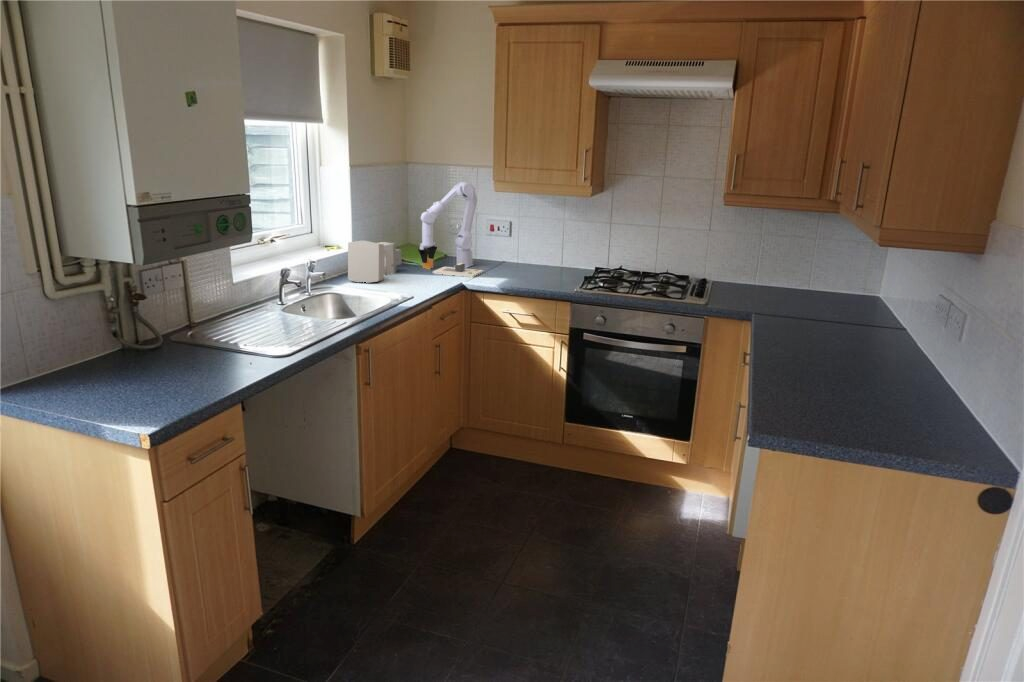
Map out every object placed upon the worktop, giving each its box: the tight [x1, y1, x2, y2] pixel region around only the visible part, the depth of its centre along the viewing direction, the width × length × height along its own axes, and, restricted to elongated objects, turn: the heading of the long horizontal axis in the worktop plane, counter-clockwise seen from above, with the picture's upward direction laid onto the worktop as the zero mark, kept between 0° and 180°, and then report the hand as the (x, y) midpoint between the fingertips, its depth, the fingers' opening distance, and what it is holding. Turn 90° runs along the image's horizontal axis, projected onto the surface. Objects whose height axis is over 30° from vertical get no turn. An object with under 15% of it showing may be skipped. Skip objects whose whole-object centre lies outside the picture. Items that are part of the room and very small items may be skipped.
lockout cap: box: [422, 257, 434, 270], centre depth 356 cm, size 4×4×5 cm
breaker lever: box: [454, 263, 466, 271], centre depth 346 cm, size 5×3×3 cm, turn 160°
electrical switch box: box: [347, 239, 385, 284], centre depth 325 cm, size 15×15×20 cm
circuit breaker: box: [379, 241, 403, 276], centre depth 342 cm, size 8×14×15 cm, turn 148°
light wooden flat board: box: [432, 266, 484, 278], centre depth 347 cm, size 14×22×2 cm, turn 70°
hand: (427, 261), depth 356 cm, fingers open, 7 cm apart
